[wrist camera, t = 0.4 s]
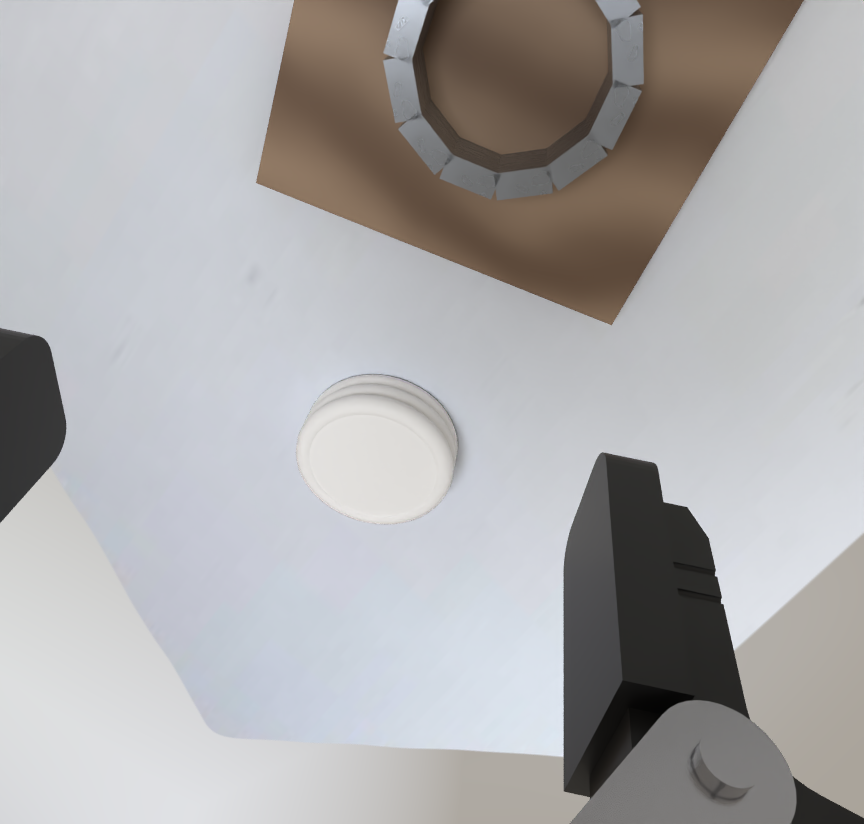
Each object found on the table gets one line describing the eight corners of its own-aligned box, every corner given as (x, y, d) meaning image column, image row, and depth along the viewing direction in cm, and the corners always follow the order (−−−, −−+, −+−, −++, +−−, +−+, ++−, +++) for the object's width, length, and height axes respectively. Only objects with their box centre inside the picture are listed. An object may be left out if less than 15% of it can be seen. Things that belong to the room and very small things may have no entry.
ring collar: (446, -129, 28) (436, -132, 26) (683, -21, 29) (695, -15, 27) (371, 128, 34) (356, 144, 32) (569, 210, 35) (570, 232, 33)
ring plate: (375, -335, 26) (366, -347, 25) (854, -109, 28) (868, -110, 27) (265, 174, 38) (255, 182, 37) (609, 312, 40) (611, 325, 38)
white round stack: (399, 515, 51) (390, 551, 48) (282, 438, 49) (265, 471, 46) (490, 433, 46) (485, 467, 43) (363, 341, 43) (350, 372, 40)
